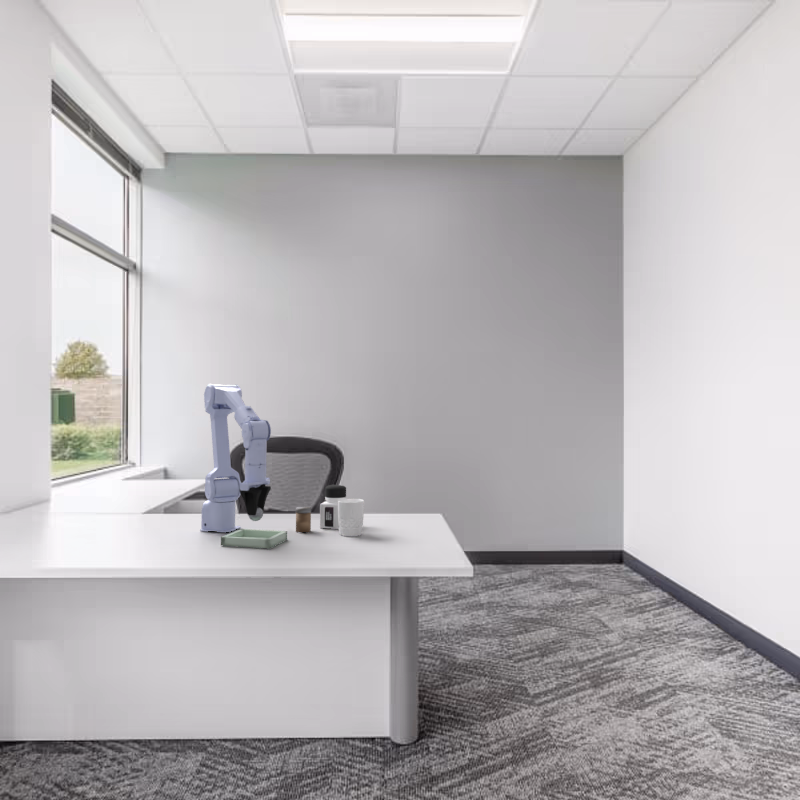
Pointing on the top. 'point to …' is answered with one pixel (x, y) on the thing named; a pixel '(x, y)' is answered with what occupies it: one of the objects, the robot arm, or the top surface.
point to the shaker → (303, 519)
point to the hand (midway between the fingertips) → (255, 513)
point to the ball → (257, 515)
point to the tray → (254, 538)
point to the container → (331, 506)
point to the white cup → (350, 516)
